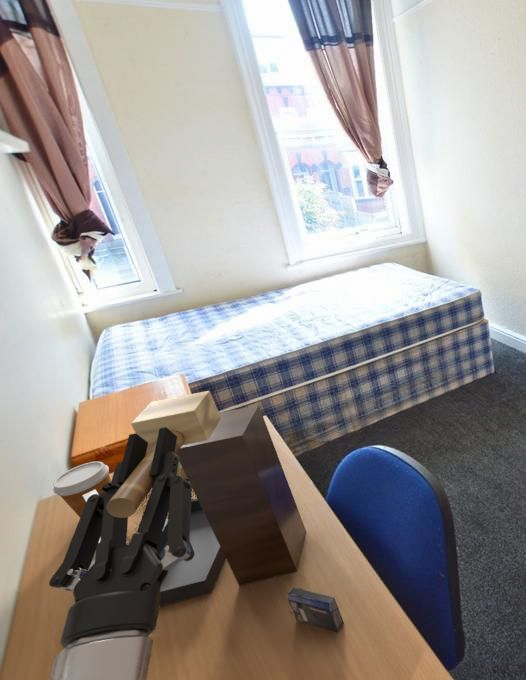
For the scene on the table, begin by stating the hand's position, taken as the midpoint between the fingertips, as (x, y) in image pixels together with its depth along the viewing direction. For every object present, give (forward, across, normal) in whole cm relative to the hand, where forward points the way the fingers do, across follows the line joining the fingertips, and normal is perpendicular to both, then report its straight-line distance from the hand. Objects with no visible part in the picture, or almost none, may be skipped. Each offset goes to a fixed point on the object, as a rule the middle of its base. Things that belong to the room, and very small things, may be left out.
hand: (153, 435), depth 61 cm
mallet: (-3, 0, -3) cm, 4 cm away
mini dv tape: (-21, +11, -32) cm, 40 cm away
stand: (-6, +1, -40) cm, 41 cm away
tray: (+1, -16, -44) cm, 47 cm away
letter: (+8, -34, -49) cm, 60 cm away
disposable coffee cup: (+17, -42, -54) cm, 70 cm away
